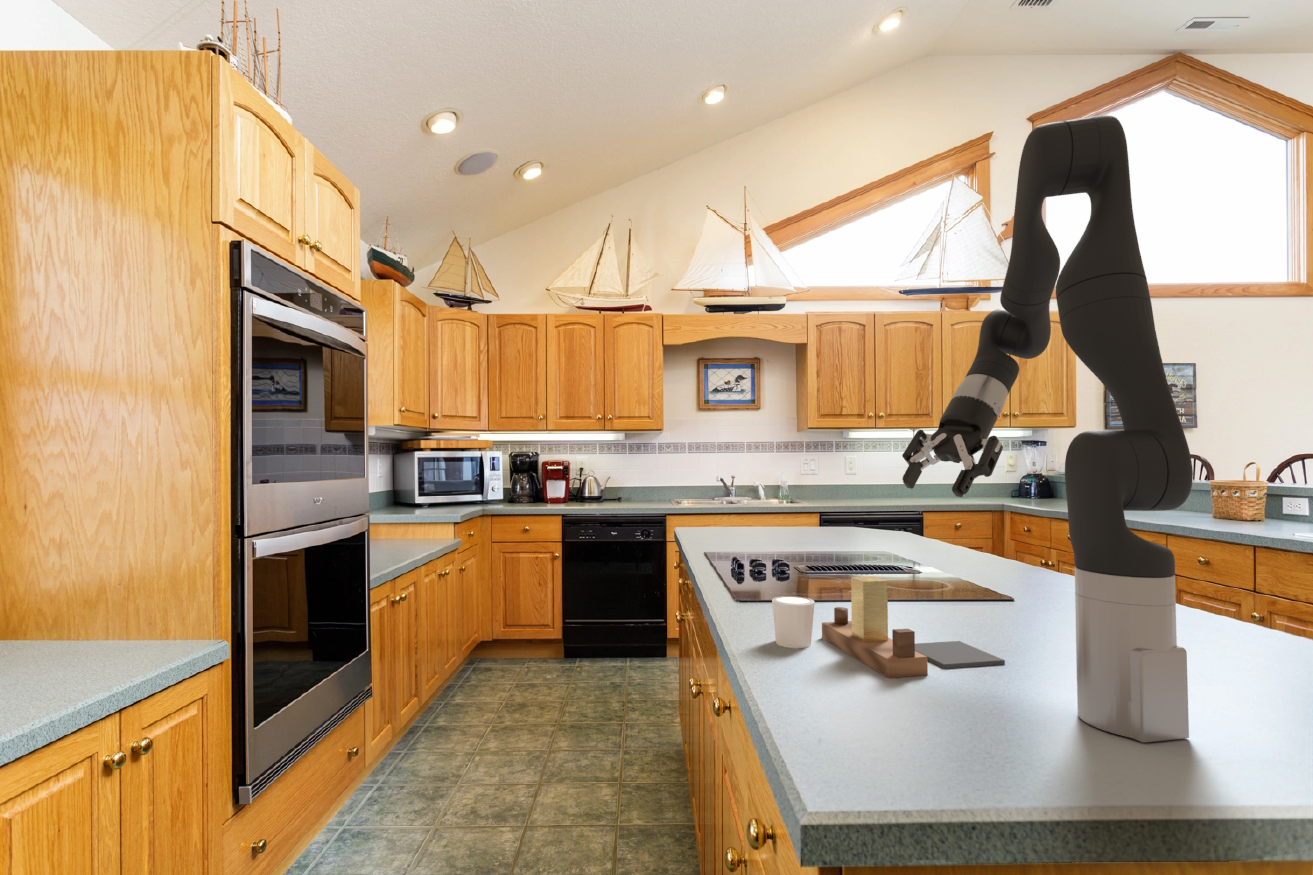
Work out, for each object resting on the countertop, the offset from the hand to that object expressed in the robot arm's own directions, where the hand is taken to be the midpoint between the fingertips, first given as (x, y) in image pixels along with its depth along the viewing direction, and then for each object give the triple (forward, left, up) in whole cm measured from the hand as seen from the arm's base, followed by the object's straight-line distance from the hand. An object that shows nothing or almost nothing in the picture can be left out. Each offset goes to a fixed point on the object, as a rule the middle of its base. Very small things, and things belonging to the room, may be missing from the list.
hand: (931, 489), depth 98 cm
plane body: (+1, +10, -25) cm, 27 cm away
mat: (-2, -2, -25) cm, 25 cm away
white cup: (+9, +19, -25) cm, 33 cm away
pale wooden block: (+1, +10, -23) cm, 25 cm away
